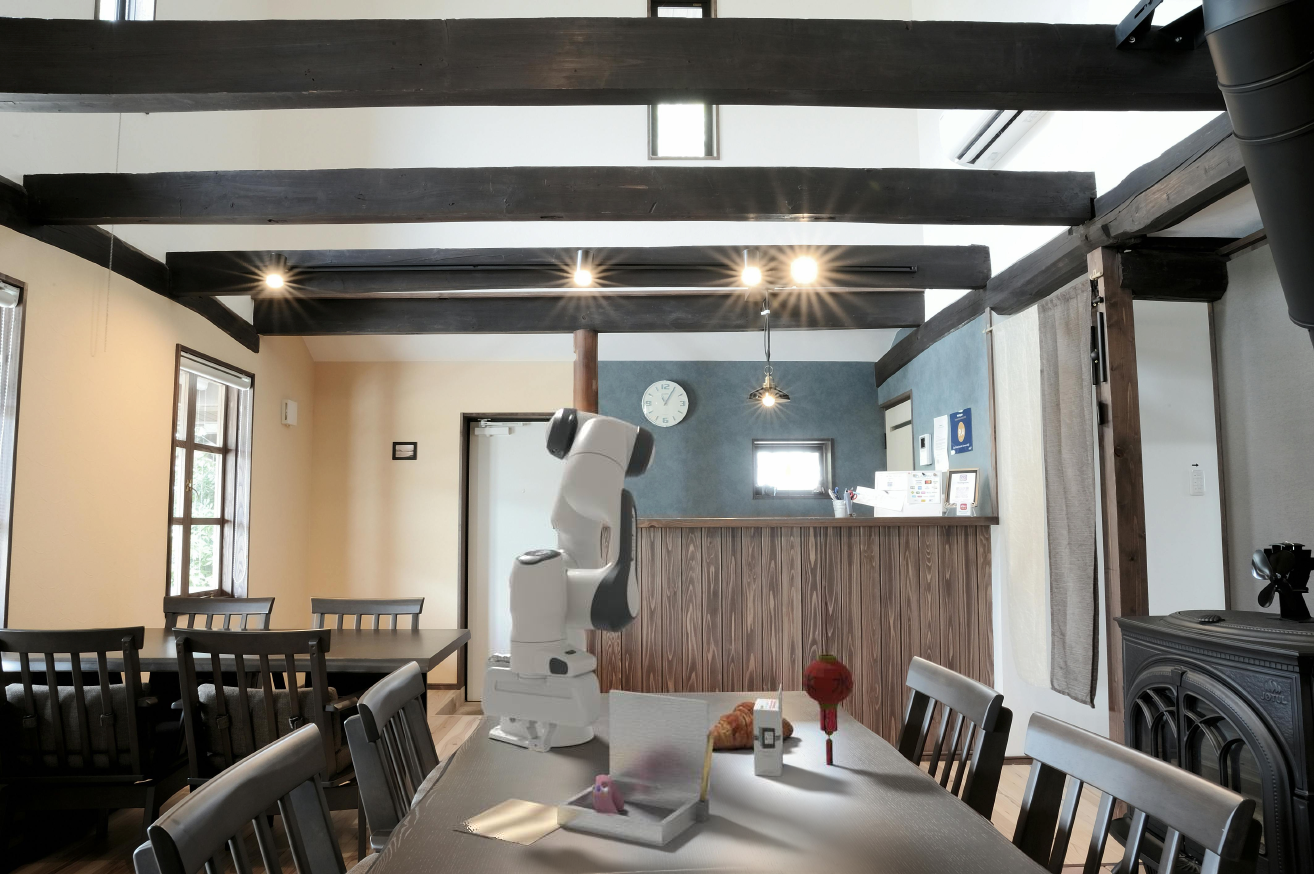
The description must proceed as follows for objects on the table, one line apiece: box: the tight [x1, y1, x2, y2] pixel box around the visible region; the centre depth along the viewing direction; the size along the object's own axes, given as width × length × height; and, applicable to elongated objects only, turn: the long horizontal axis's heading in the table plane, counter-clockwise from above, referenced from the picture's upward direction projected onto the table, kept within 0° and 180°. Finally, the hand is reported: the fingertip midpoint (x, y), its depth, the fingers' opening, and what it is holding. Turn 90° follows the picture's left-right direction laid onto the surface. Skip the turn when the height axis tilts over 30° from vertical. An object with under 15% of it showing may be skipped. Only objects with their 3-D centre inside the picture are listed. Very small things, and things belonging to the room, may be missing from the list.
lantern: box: [802, 601, 854, 766], centre depth 157 cm, size 10×10×30 cm
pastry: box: [709, 701, 795, 751], centre depth 171 cm, size 17×15×8 cm
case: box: [556, 689, 714, 847], centre depth 129 cm, size 19×16×18 cm
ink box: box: [753, 683, 784, 777], centre depth 154 cm, size 9×5×15 cm, turn 168°
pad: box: [460, 797, 564, 847], centre depth 127 cm, size 14×14×1 cm
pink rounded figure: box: [592, 773, 625, 815], centre depth 128 cm, size 10×5×7 cm, turn 1°
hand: (539, 749), depth 126 cm, fingers closed
